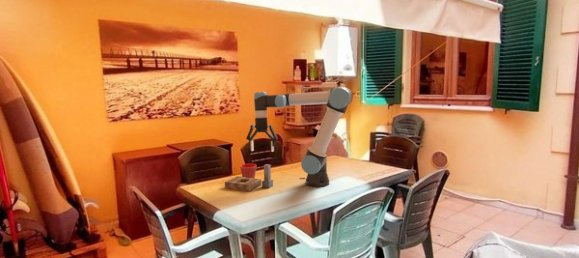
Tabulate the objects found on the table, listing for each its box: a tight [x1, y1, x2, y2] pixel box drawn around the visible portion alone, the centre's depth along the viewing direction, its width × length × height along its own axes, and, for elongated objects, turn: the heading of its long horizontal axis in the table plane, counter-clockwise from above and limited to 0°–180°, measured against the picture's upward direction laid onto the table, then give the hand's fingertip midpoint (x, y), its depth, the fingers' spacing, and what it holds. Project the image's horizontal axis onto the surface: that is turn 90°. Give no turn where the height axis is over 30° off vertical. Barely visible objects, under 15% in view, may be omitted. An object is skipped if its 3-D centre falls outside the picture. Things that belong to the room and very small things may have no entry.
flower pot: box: [239, 163, 257, 179], centre depth 232 cm, size 11×11×10 cm
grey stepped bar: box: [261, 163, 274, 189], centre depth 214 cm, size 5×5×14 cm
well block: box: [224, 176, 262, 192], centre depth 215 cm, size 18×14×4 cm
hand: (262, 151), depth 215 cm, fingers open, 13 cm apart
